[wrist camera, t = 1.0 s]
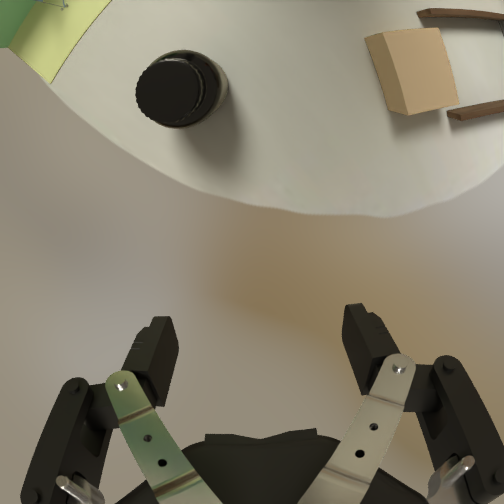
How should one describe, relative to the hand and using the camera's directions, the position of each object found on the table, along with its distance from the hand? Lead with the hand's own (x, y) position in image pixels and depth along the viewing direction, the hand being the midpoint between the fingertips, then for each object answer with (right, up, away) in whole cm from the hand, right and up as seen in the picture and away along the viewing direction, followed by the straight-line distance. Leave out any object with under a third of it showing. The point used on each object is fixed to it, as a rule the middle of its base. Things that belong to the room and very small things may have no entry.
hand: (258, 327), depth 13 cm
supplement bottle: (-6, +21, +14) cm, 26 cm away
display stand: (-19, +37, +4) cm, 42 cm away
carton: (+17, +25, +12) cm, 32 cm away
